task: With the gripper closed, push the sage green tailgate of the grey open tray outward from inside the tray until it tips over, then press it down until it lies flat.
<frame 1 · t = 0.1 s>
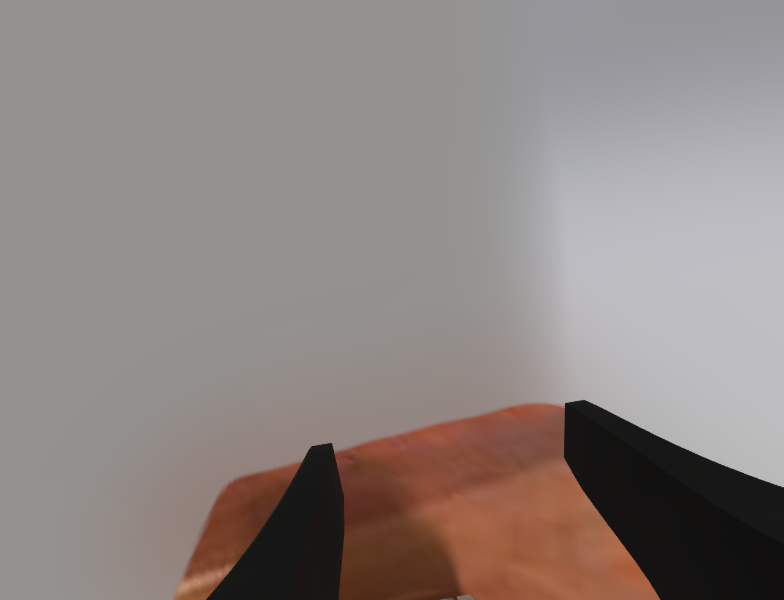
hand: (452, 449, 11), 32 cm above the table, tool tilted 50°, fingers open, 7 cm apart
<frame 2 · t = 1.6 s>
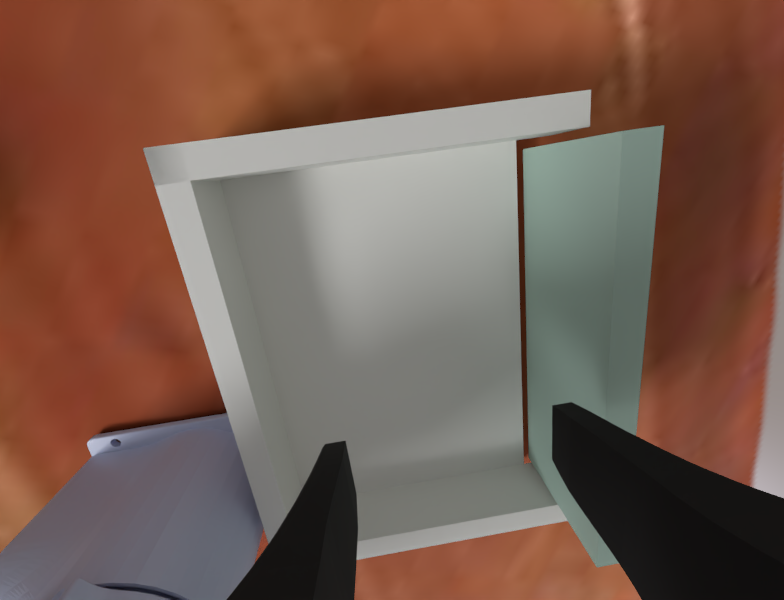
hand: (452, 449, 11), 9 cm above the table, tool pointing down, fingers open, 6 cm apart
tailgate: (572, 350, 16), point 5 cm above the table, hinge at 0.0°
grey open tray: (382, 335, 20), on the table
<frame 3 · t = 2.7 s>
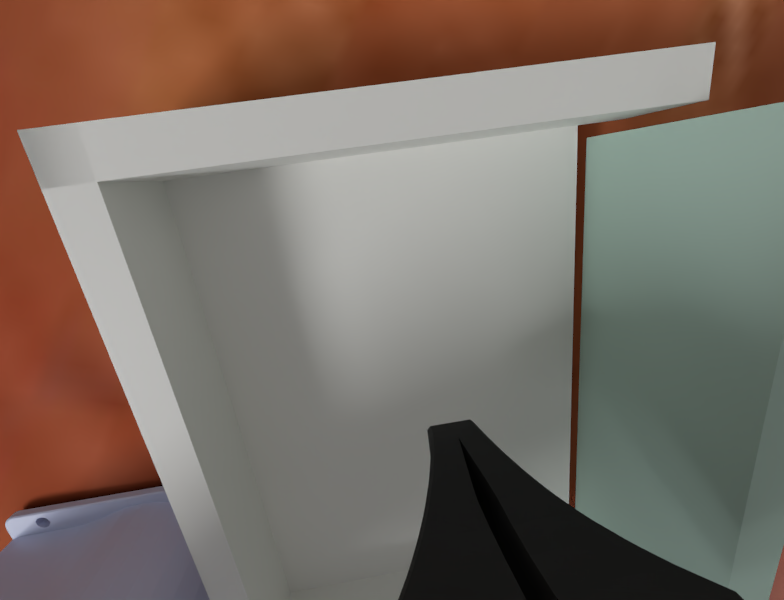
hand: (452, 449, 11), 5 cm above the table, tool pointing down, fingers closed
tailgate: (658, 419, 11), point 5 cm above the table, hinge at 0.0°
grey open tray: (390, 381, 16), on the table
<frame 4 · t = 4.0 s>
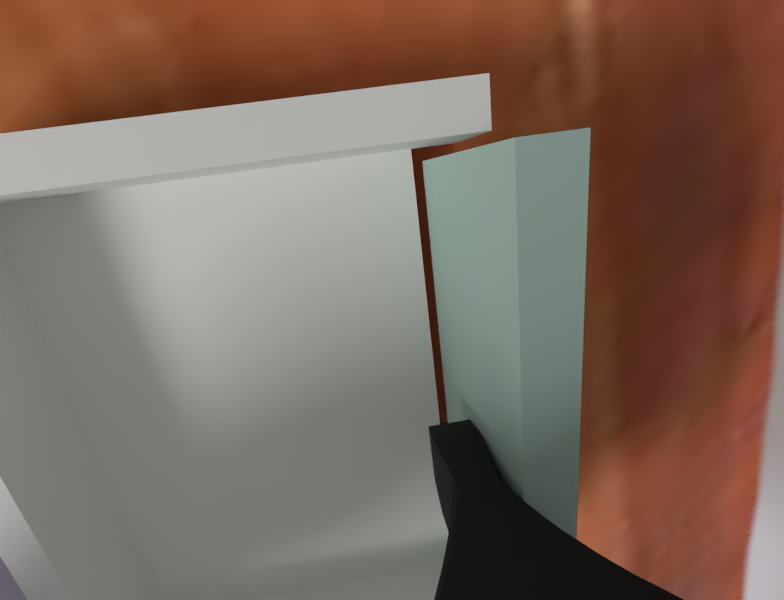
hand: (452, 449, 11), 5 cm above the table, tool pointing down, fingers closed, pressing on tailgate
tailgate: (493, 446, 11), point 5 cm above the table, hinge at 2.5°, touching gripper
grey open tray: (262, 401, 15), on the table
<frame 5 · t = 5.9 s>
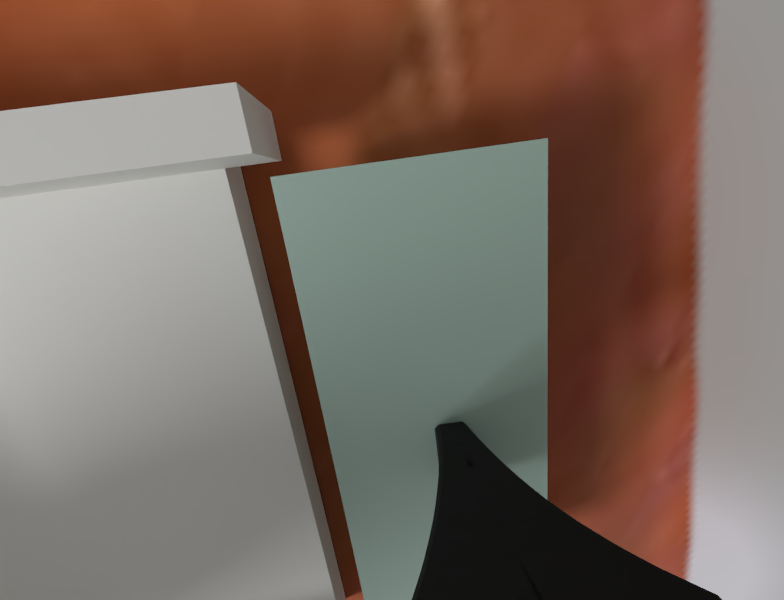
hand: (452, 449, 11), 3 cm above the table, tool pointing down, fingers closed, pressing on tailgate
tailgate: (436, 438, 12), point 2 cm above the table, hinge at 82.9°, touching gripper
grey open tray: (110, 447, 14), on the table
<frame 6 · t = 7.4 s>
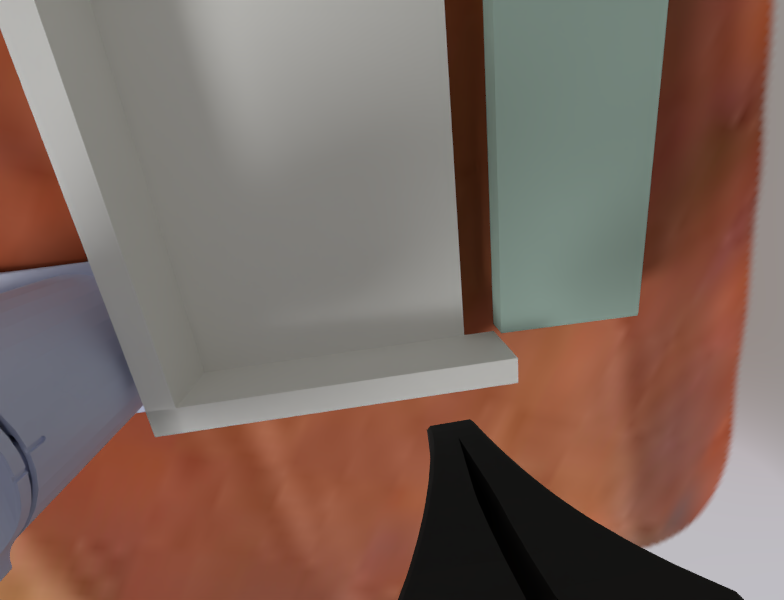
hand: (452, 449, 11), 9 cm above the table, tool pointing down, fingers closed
tailgate: (569, 131, 15), point 2 cm above the table, hinge at 88.3°
grey open tray: (293, 167, 17), on the table
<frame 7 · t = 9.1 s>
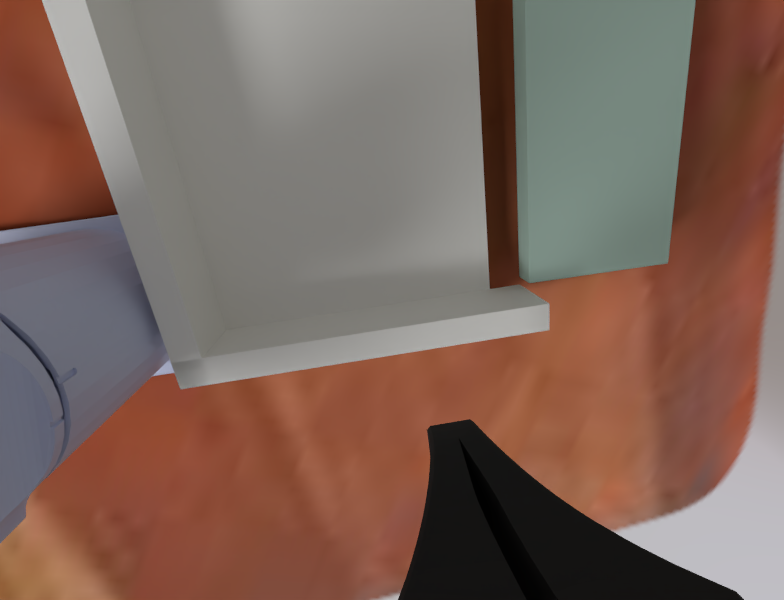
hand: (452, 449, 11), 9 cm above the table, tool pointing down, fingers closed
tailgate: (599, 69, 15), point 2 cm above the table, hinge at 88.3°
grey open tray: (315, 115, 17), on the table
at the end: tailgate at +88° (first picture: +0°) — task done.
